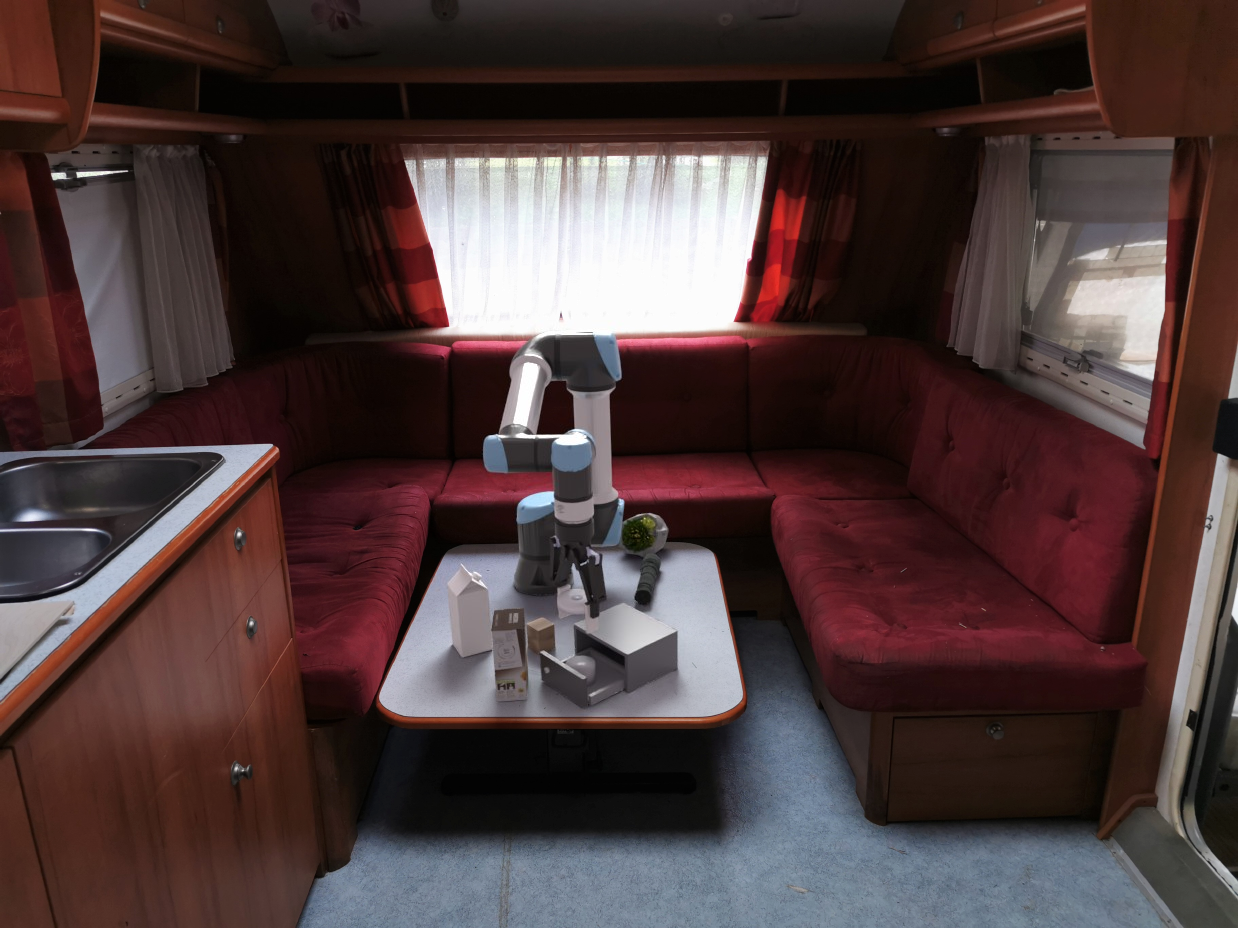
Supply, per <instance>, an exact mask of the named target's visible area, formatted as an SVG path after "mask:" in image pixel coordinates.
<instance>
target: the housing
mask: <svg viewBox="0 0 1238 928" xmlns="http://www.w3.org/2000/svg"><path fill="white" fill-rule="evenodd" d="M598 623H599V629H598V630H596V631H593V632H591V633H589V634H587V633H586V628H585V618H584V619H581V620H580V621H577V622H575V623H573V644H574V654H576V653H578V652H581V651H583V650H585V649H587V648H589V647H591V648H593V649H595V650H596V651H598V652H600V653H602V654H603V655H605V656H607V657H608V658H610V659H612V660H613V661H615V662H617V663H619V664H620V665H622V666H624V667H625V689H623V690H622V692H624V693H626V694H629V695H630V694H631V693H632V692H634V691H636V690H639V689H641V688H642V687H644V686H647V685H648V684H650V683H652V682H654V681H656V680H658V679H660V678H662V677H665V675H668V674H670V673H672V672H674V671H675V670H677V669H678V668H679V666H678V663H679V661H678V655H679V653H678V649H679V648H678V645H679V643H678V640H679V639H678V638H679V637H678V636H679V635H678V633H679V631H678V630H677V629H675V628H673V627H671V626H669V625H667V624H666V623H663V622H661V621H660V620H657V619H656V618H653V616H650V615H648V614H646V613H644V612H642V611H640V610H638V609H637V608H634V607H633V606H631V605H629V604H626V603H625V602H622V603H619V604H617V605H615V606H612V607H610V608H608V609H605V610H602V611H599V617H598Z"/></svg>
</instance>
